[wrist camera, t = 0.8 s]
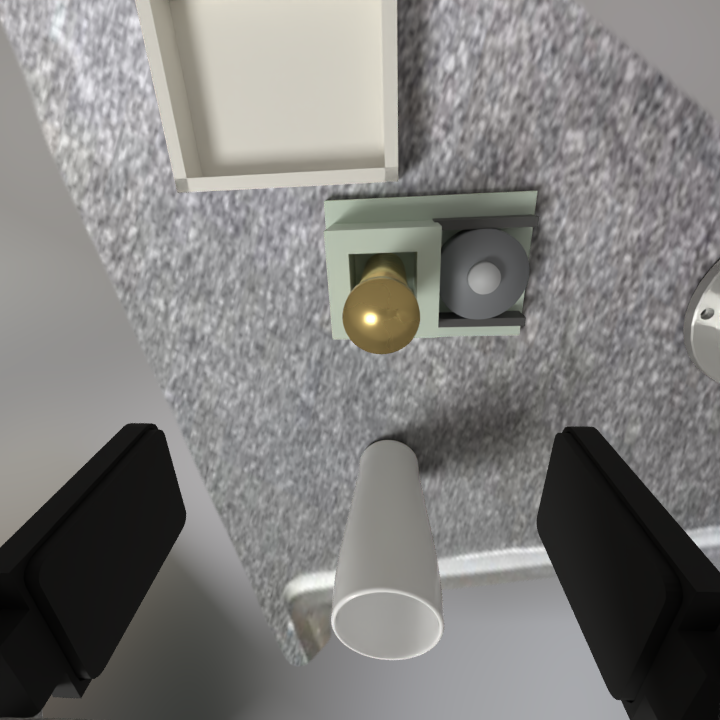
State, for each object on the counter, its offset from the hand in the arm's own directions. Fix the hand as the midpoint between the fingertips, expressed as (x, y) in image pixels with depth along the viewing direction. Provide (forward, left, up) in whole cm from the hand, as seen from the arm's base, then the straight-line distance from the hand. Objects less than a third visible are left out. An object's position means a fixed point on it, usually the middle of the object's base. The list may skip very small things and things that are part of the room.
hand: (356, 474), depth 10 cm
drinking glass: (0, +17, -22) cm, 28 cm away
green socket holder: (-3, 0, -22) cm, 22 cm away
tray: (+6, -12, -22) cm, 26 cm away
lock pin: (0, 0, -21) cm, 21 cm away
